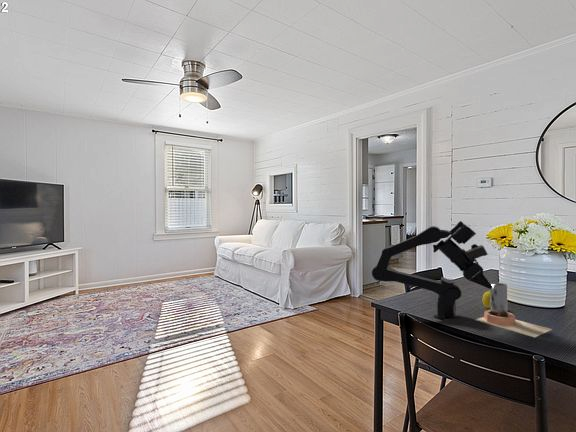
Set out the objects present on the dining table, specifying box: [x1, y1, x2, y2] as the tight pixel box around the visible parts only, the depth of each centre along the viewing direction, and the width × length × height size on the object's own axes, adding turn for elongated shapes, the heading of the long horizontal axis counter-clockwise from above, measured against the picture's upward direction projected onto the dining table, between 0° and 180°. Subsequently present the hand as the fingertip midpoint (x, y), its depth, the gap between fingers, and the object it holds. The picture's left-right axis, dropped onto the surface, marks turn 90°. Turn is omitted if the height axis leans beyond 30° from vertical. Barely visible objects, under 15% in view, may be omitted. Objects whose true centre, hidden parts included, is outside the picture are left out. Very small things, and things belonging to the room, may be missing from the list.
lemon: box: [481, 290, 491, 310], centre depth 128 cm, size 6×6×8 cm
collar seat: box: [483, 309, 516, 326], centre depth 114 cm, size 9×9×2 cm
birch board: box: [475, 316, 553, 338], centre depth 110 cm, size 12×18×1 cm, turn 29°
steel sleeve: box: [489, 282, 508, 317], centre depth 113 cm, size 5×5×13 cm
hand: (489, 284), depth 114 cm, fingers open, 9 cm apart
